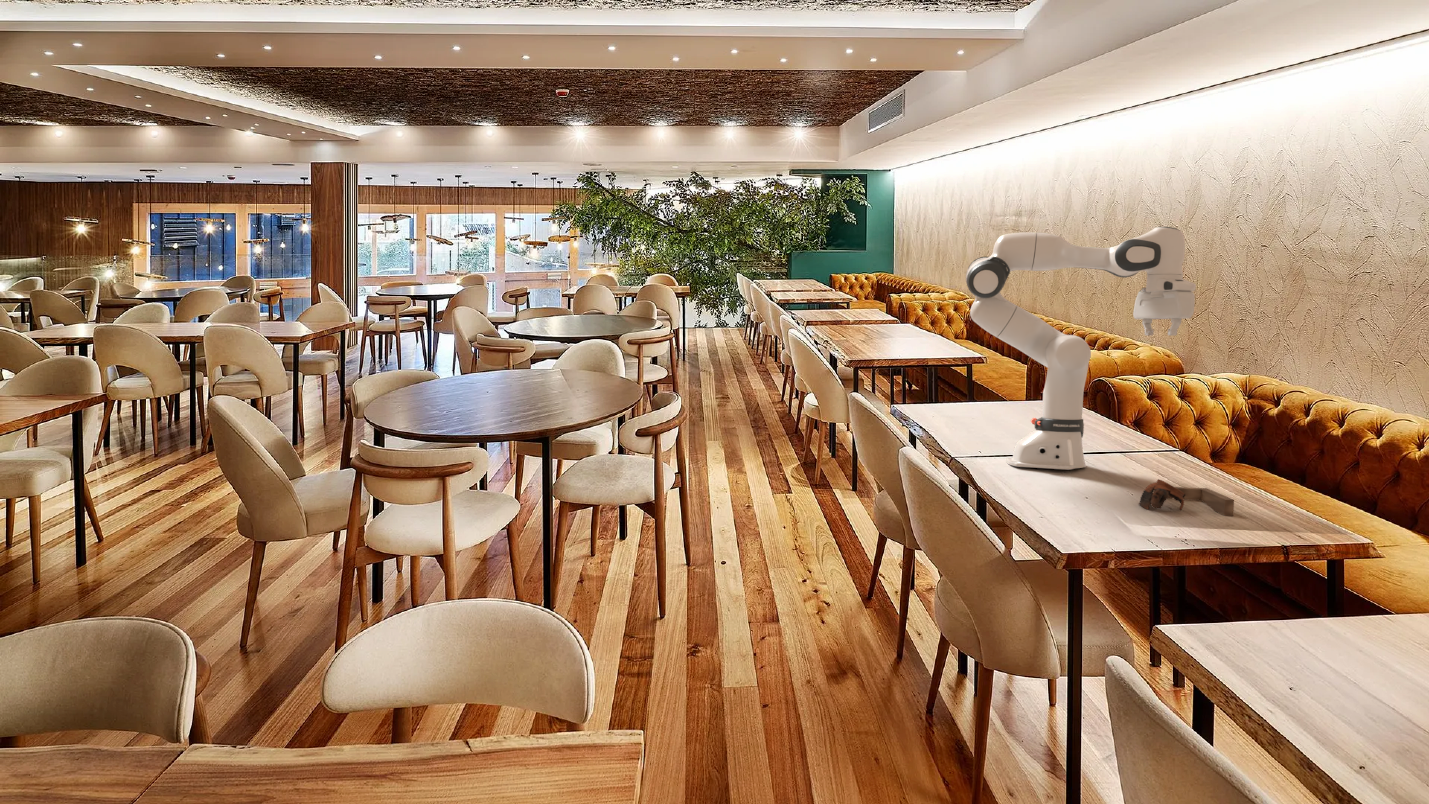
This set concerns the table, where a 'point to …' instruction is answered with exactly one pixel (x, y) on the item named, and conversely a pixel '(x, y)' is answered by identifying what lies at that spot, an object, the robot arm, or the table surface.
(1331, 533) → the table surface
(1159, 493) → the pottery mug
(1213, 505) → the dock
